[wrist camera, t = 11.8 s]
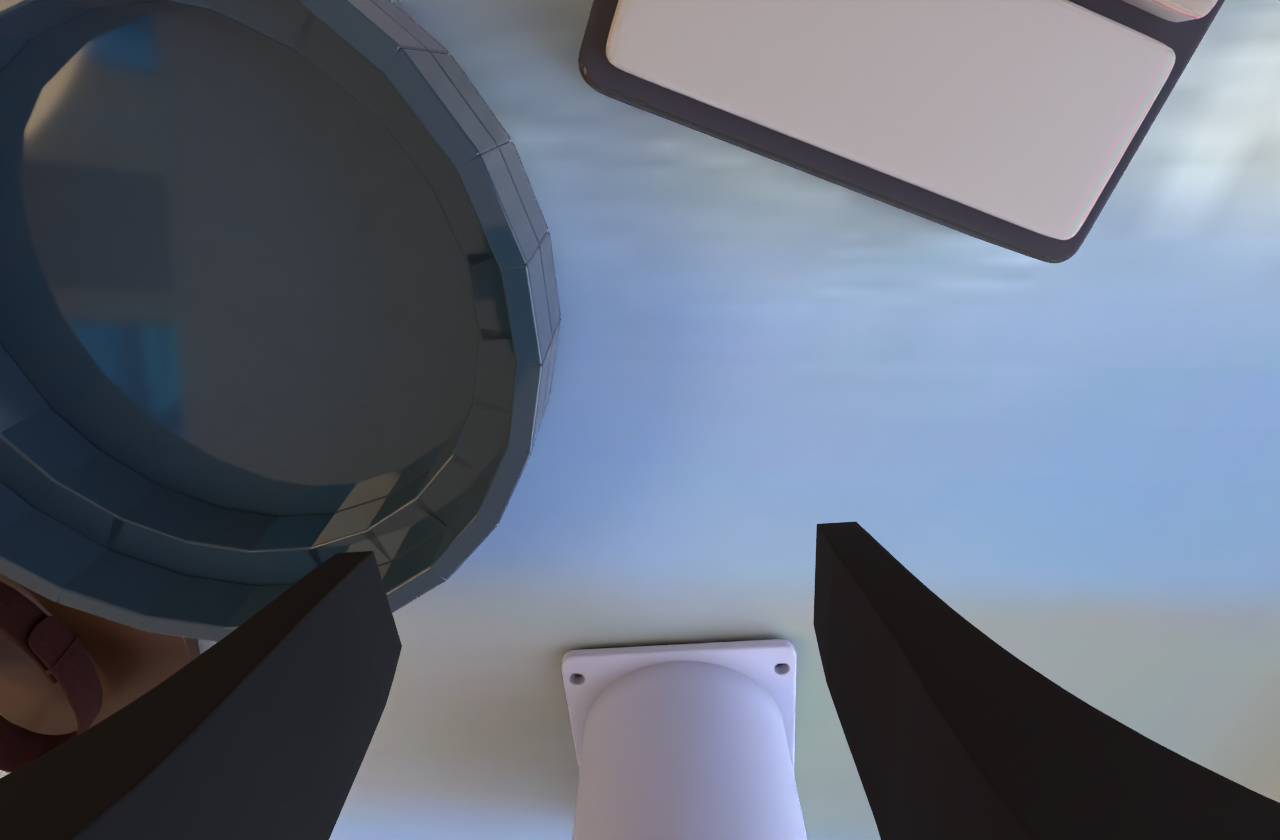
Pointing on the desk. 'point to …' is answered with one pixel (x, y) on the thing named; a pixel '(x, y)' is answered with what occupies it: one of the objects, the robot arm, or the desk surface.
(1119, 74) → the calculator
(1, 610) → the watch
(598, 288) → the desk surface
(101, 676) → the coaster
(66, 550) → the bowl
